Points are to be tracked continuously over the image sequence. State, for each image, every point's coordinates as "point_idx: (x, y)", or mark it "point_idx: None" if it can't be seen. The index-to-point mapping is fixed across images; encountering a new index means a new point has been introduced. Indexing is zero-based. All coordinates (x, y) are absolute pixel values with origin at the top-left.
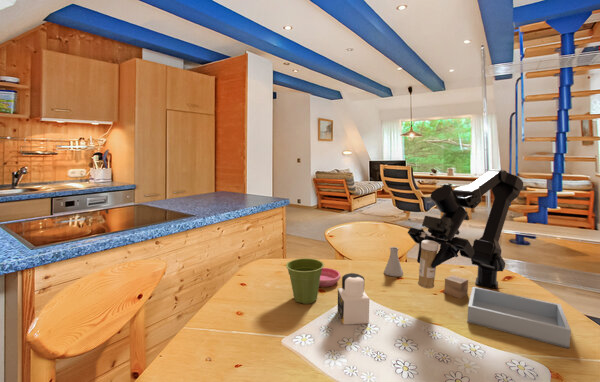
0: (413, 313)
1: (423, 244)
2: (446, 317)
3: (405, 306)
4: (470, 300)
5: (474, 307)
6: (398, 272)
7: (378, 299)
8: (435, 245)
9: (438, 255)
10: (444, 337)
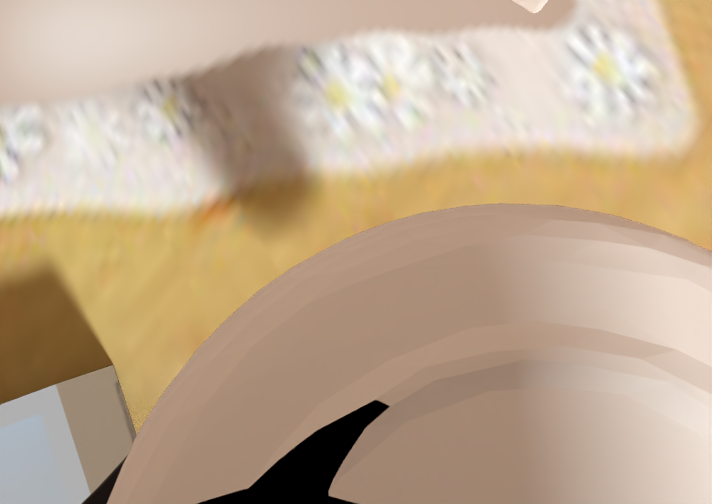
0: (352, 208)
1: (606, 225)
2: (214, 317)
3: None
4: (82, 491)
5: (16, 400)
6: None
7: (569, 187)
8: (111, 500)
9: None
10: (125, 124)
